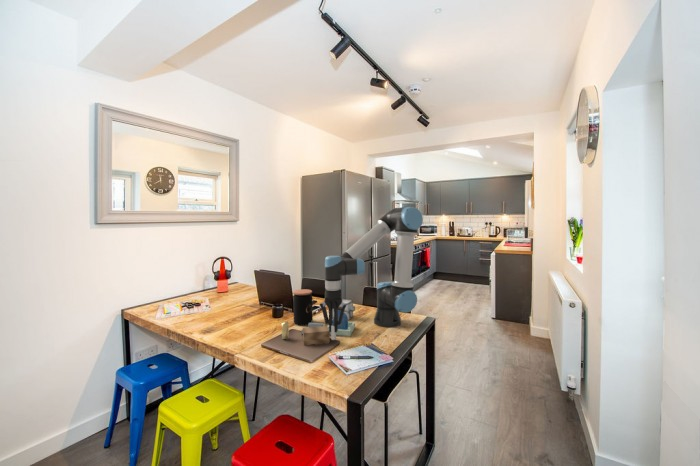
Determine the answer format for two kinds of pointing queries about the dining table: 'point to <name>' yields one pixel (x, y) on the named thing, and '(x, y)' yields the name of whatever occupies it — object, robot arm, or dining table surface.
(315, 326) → the slot block
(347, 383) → the dining table surface
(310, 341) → the brown wooden block
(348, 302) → the toy llama
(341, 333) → the tray
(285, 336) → the bench dog
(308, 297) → the coffee jar
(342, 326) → the perfume bottle
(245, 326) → the dining table surface
